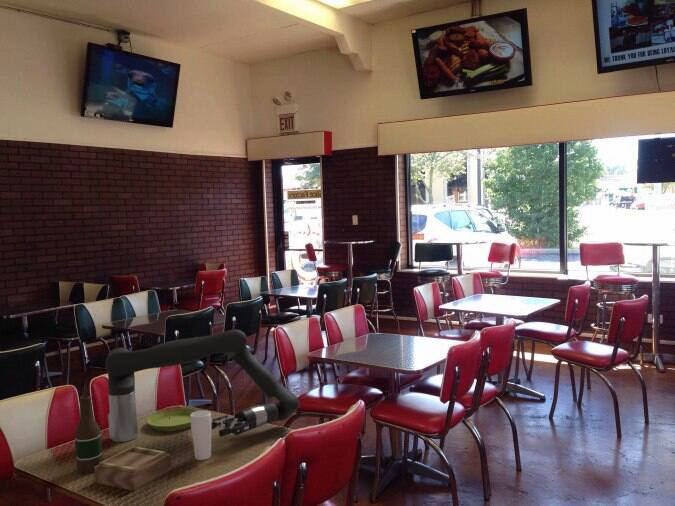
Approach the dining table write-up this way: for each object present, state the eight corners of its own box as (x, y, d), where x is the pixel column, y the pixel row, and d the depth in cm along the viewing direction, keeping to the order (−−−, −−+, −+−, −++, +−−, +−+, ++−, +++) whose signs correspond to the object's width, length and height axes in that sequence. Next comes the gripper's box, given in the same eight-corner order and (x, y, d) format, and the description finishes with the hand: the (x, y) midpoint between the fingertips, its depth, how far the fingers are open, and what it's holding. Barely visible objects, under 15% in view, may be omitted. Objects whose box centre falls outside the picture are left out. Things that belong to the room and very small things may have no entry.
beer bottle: (71, 472, 192) (66, 399, 190) (90, 462, 199) (85, 392, 197) (90, 475, 189) (85, 401, 187) (108, 465, 196) (103, 393, 194)
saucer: (173, 437, 219) (172, 429, 219) (135, 429, 230) (135, 421, 230) (212, 420, 236) (212, 412, 236) (176, 413, 247) (175, 405, 247)
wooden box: (95, 482, 183) (94, 463, 183) (133, 462, 197) (132, 444, 197) (134, 490, 176) (133, 471, 176) (171, 469, 191) (170, 450, 190)
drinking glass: (208, 462, 195) (205, 417, 194) (189, 461, 196) (186, 416, 195) (216, 453, 201) (214, 410, 200) (198, 453, 203) (195, 410, 202)
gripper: (239, 403, 217) (200, 415, 206) (263, 412, 207) (223, 424, 196) (240, 424, 218) (201, 436, 206) (264, 433, 208) (224, 447, 196)
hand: (212, 430), depth 201 cm, fingers open, 8 cm apart
